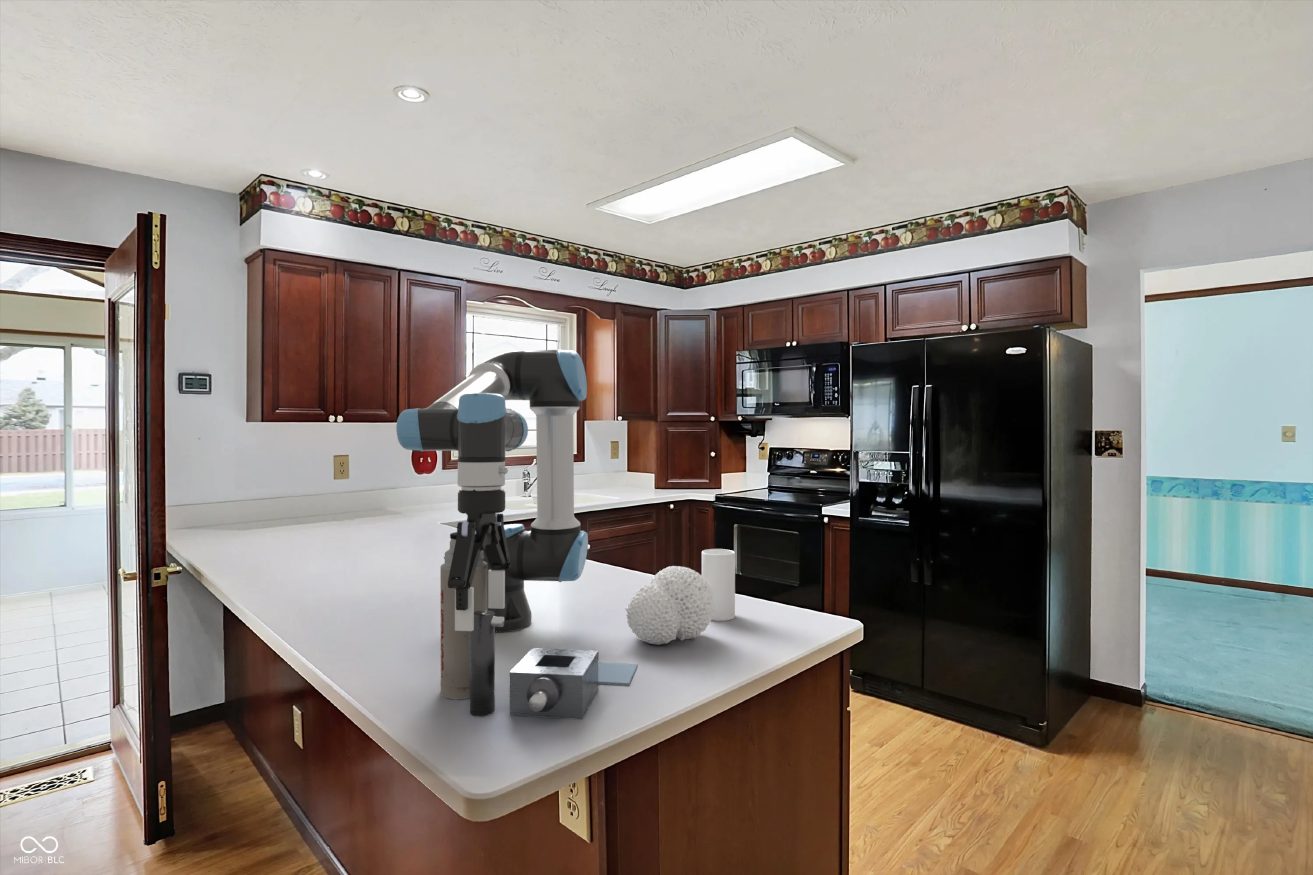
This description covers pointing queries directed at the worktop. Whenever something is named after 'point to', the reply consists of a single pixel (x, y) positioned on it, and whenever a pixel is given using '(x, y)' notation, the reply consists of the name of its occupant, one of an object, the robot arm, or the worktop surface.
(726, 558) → the cup
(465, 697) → the thermos bottle
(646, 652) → the worktop surface
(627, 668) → the mat
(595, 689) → the block
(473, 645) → the key
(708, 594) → the white coral
